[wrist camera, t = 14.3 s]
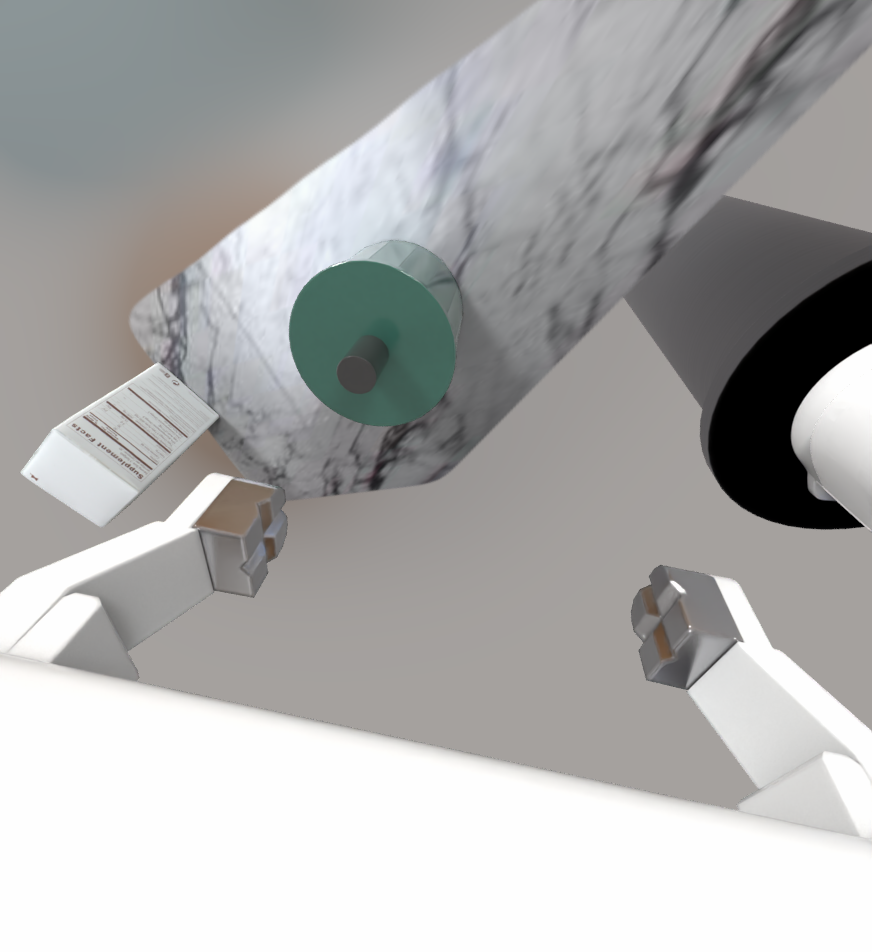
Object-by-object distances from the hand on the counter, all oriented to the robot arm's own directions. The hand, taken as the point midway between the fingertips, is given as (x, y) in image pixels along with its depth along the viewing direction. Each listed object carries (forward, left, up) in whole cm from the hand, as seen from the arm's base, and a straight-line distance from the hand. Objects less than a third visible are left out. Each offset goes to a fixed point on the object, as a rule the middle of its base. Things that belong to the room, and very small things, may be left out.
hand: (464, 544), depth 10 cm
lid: (+7, +5, -21) cm, 22 cm away
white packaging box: (+29, +19, -29) cm, 45 cm away
